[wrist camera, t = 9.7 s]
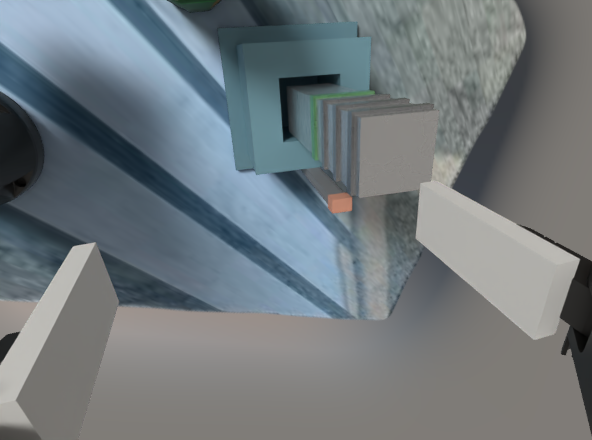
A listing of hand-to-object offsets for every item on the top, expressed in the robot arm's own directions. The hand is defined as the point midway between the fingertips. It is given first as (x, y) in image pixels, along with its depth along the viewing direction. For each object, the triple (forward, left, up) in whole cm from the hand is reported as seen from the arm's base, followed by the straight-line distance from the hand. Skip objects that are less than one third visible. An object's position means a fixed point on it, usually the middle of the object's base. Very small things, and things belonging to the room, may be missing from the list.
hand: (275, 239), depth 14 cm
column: (+9, +1, -29) cm, 31 cm away
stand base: (+9, +1, -38) cm, 39 cm away
